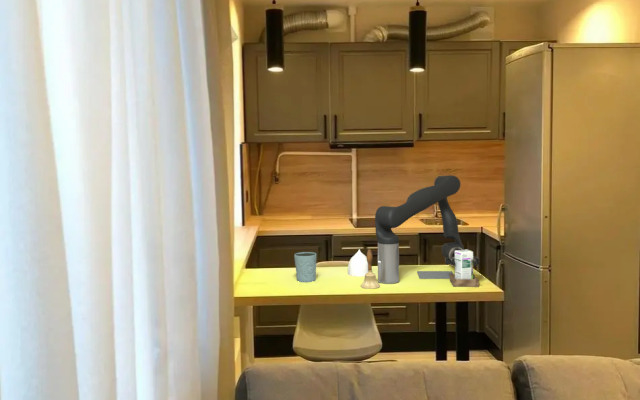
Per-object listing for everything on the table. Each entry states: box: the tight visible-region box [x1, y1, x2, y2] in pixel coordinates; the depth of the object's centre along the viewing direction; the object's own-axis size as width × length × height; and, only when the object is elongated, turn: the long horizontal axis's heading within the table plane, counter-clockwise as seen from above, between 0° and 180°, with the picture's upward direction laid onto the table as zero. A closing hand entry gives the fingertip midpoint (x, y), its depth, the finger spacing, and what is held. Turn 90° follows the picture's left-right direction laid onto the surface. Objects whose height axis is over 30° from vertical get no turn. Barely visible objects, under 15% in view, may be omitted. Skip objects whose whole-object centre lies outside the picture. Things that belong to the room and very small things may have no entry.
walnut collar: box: [449, 273, 480, 288], centre depth 238 cm, size 10×10×3 cm
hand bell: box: [360, 249, 381, 290], centre depth 236 cm, size 8×8×16 cm
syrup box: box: [454, 249, 474, 279], centre depth 237 cm, size 6×6×14 cm
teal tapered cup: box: [293, 251, 318, 283], centre depth 249 cm, size 10×10×12 cm
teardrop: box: [347, 248, 368, 277], centre depth 260 cm, size 11×11×12 cm
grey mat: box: [416, 270, 454, 280], centre depth 253 cm, size 16×12×1 cm
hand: (464, 263), depth 235 cm, fingers open, 8 cm apart
